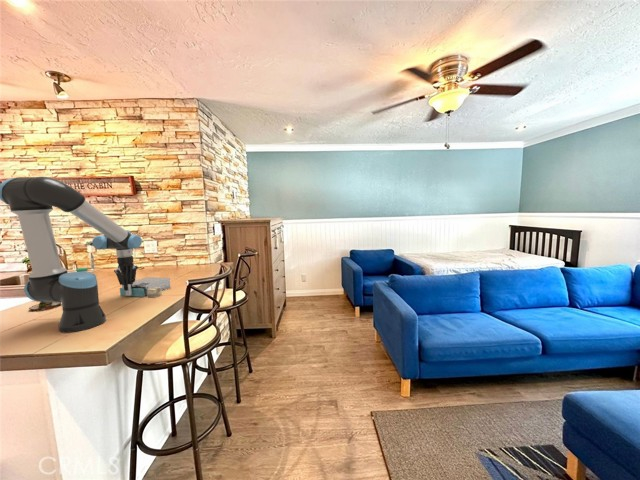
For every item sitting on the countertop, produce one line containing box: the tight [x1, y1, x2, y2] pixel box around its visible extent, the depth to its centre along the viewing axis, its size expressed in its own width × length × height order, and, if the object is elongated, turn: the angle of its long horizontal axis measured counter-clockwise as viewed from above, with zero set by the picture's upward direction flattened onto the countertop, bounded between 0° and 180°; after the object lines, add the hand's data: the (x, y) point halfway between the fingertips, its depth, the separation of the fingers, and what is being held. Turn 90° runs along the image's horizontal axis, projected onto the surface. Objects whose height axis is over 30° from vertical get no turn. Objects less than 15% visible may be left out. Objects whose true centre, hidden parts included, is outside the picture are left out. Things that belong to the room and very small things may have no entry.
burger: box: [28, 302, 62, 313], centre depth 133 cm, size 12×12×8 cm
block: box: [147, 287, 163, 299], centre depth 149 cm, size 5×5×5 cm
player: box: [121, 276, 171, 297], centre depth 160 cm, size 18×18×7 cm
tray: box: [119, 287, 146, 298], centre depth 157 cm, size 17×17×5 cm
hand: (128, 295), depth 148 cm, fingers closed
